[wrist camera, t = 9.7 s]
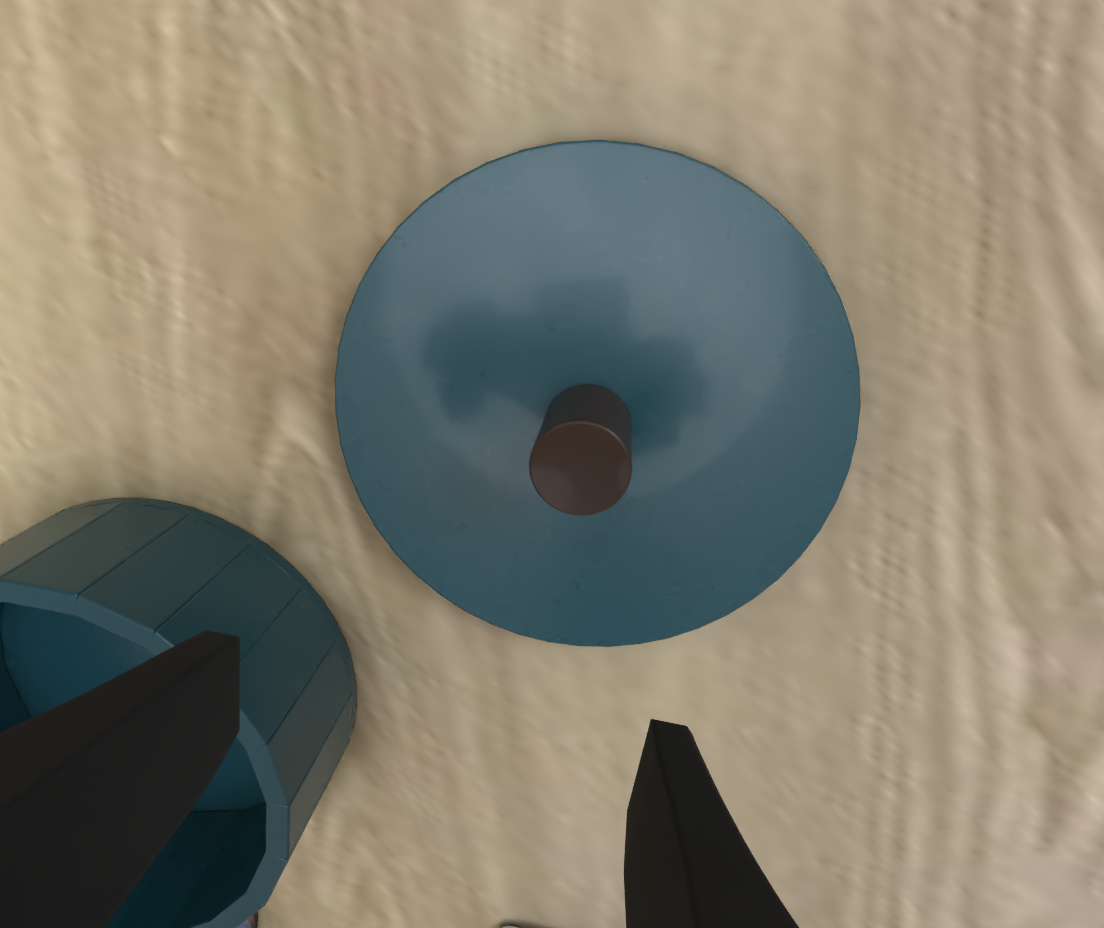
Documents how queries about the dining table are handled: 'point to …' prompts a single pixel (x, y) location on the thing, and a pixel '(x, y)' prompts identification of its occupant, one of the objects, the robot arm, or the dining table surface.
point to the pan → (157, 625)
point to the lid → (597, 393)
